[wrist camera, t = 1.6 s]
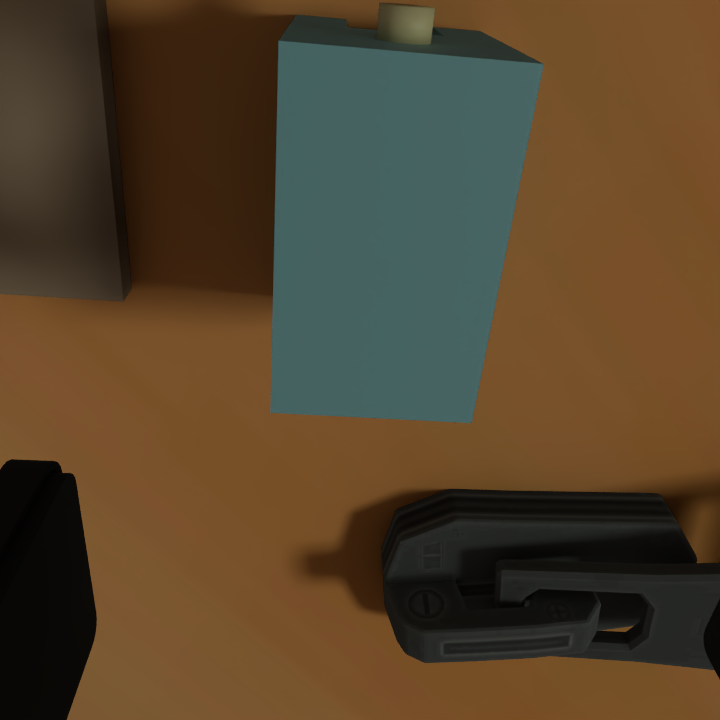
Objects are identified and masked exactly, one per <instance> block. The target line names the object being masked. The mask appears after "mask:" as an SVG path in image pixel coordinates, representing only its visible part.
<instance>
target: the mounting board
mask: <svg viewBox="0 0 720 720" xmlns="http://www.w3.org/2000/svg"><path fill="white" fill-rule="evenodd" d="M131 288H132V286H131V275H130V264H129V253H128V242H127V231H126V220H125V209H124V198H123V187H122V176H121V165H120V154H119V143H118V132H117V121H116V110H115V99H114V88H113V77H112V66H111V55H110V44H109V33H108V22H107V11H106V0H0V294H11V295H27V296H43V297H60V298H76V299H92V300H109V301H124V300H125V298H126V296H127V295H128V293H129V292H130V290H131Z"/></svg>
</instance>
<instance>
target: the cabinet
mask: <svg viewBox="0 0 720 720" xmlns="http://www.w3.org/2000/svg"><path fill="white" fill-rule="evenodd" d="M434 13H435V8H432V7H426V6H418V5H409V4H397V3H379V12H378V24H377V30H372V29H361V28H350V27H347V21H346V19H338V18H327V17H316V16H305V15H296V16H295V18H294V19H293V21H292V22H291V23H290V25H289V26H288V28H287V29H286V31H285V32H284V34H283V35H282V36H281V38H280V39H279V43H278V90H277V136H276V182H275V229H274V275H273V321H272V368H271V413H287V414H307V415H326V416H346V417H365V418H385V419H404V420H424V421H444V422H463V423H472V418H473V413H474V408H475V403H476V398H477V393H478V388H479V383H480V378H481V373H482V368H483V363H484V358H485V353H486V349H487V344H488V339H489V334H490V329H491V324H492V319H493V314H494V309H495V304H496V299H497V294H498V289H499V284H500V279H501V274H502V269H503V264H504V259H505V254H506V249H507V244H508V239H509V234H510V229H511V224H512V219H513V214H514V209H515V204H516V199H517V194H518V189H519V184H520V179H521V174H522V169H523V164H524V159H525V154H526V150H527V145H528V140H529V135H530V130H531V125H532V120H533V115H534V110H535V105H536V100H537V95H538V90H539V85H540V80H541V75H542V70H543V65H544V64H543V63H541V62H539V61H537V60H535V59H533V58H531V57H529V56H527V55H525V54H523V53H521V52H520V51H518V50H516V49H514V48H512V47H510V46H508V45H506V44H504V43H502V42H500V41H498V40H496V39H494V38H492V37H490V36H488V35H487V34H485V33H483V32H481V31H471V30H460V29H449V28H438V27H433V21H434Z"/></svg>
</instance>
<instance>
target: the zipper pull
mask: <svg viewBox="0 0 720 720" xmlns="http://www.w3.org/2000/svg"><path fill="white" fill-rule="evenodd" d="M381 552H382V568H383V588H384V604H385V608H386V611H387V614H388V617H389V620H390V622H391V625H392V628H393V631H394V634H395V637H396V640H397V641H398V643H399V645H400V646H401V648H402V649H403V651H404V652H405V653H406V654H407V655H409V656H411V657H413V658H415V659H418V660H420V661H422V662H424V663H438V662H464V661H486V660H504V659H523V658H537V657H546V656H559V657H574V658H589V659H604V660H620V661H635V662H645V663H654V664H664V665H673V666H682V667H691V668H701V669H710V670H714V668H713V666H712V664H711V662H710V661H709V659H708V657H707V654H706V652H705V648H704V640H703V638H704V631H705V628H706V626H707V624H708V622H709V620H710V618H711V616H712V613H713V611H714V609H715V607H716V605H717V603H718V601H719V599H720V563H697V557H696V555H695V553H694V551H693V549H692V547H691V546H690V544H689V542H688V540H687V538H686V537H685V535H684V533H683V531H682V530H681V528H680V526H679V524H678V523H677V521H676V519H675V518H674V516H673V514H672V513H671V511H670V509H669V508H668V506H667V504H666V503H665V501H664V499H663V498H662V496H661V495H659V494H654V493H616V492H553V491H501V490H470V489H447V490H445V491H443V492H440V493H437V494H435V495H432V496H430V497H427V498H425V499H422V500H419V501H417V502H414V503H412V504H409V505H406V506H404V507H401V508H399V509H397V510H396V512H395V514H394V517H393V519H392V522H391V525H390V527H389V530H388V532H387V535H386V537H385V540H384V542H383V545H382V547H381ZM629 626H633V627H632V628H631V629H629V630H628V631H627V632H612V631H599V630H607V629H614V628H621V627H629Z"/></svg>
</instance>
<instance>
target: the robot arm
mask: <svg viewBox="0 0 720 720" xmlns="http://www.w3.org/2000/svg"><path fill="white" fill-rule="evenodd" d="M96 622H97V617H96V609H95V602H94V596H93V589H92V583H91V576H90V569H89V563H88V556H87V550H86V543H85V537H84V530H83V524H82V517H81V511H80V504H79V498H78V491H77V485H76V480H75V477H74V475H73V474H71V473H62V470H61V466H60V465H59V463H58V462H55V461H38V460H13V459H11V460H9V461H7V462H6V463H5V464H4V465H3V466H2V468H1V469H0V720H67V717H68V714H69V711H70V708H71V705H72V703H73V700H74V697H75V694H76V691H77V688H78V685H79V682H80V680H81V677H82V674H83V671H84V668H85V665H86V662H87V659H88V657H89V654H90V651H91V648H92V645H93V642H94V637H95V633H96ZM703 640H704V648H705V652H706V654H707V657H708V659H709V661H710V662H711V664H712V666H713V668H714V670H715V672H716V673H717V675H718V677H719V679H720V599H719V601H718V603H717V605H716V607H715V609H714V611H713V613H712V616H711V618H710V620H709V622H708V624H707V626H706V628H705V631H704V638H703Z"/></svg>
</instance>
